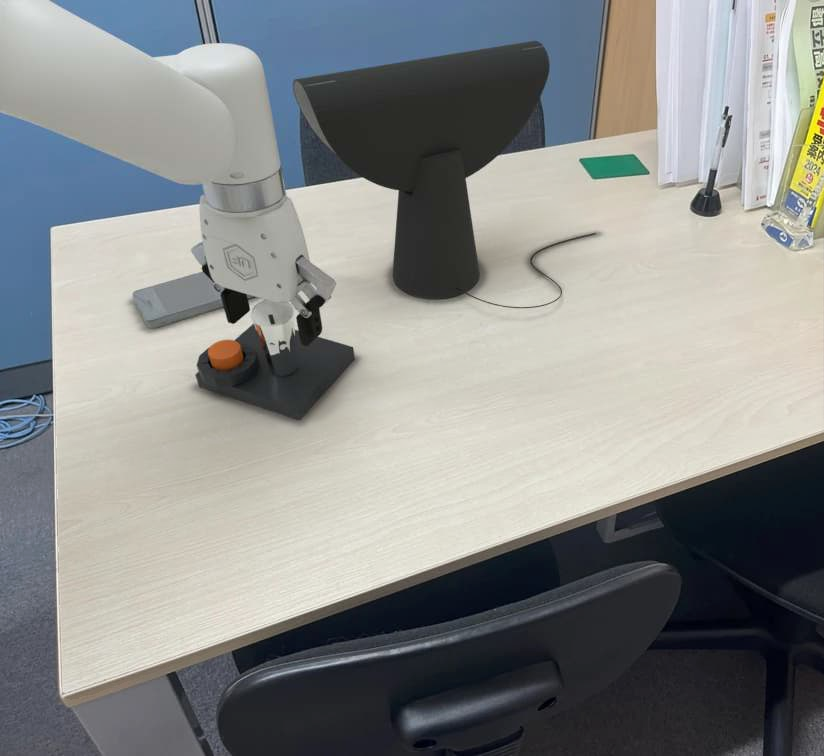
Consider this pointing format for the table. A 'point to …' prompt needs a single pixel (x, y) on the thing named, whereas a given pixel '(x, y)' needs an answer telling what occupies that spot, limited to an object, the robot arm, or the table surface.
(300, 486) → the table surface
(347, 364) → the dark grey flat block
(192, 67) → the robot arm
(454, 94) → the table lamp
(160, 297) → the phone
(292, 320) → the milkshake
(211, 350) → the button
